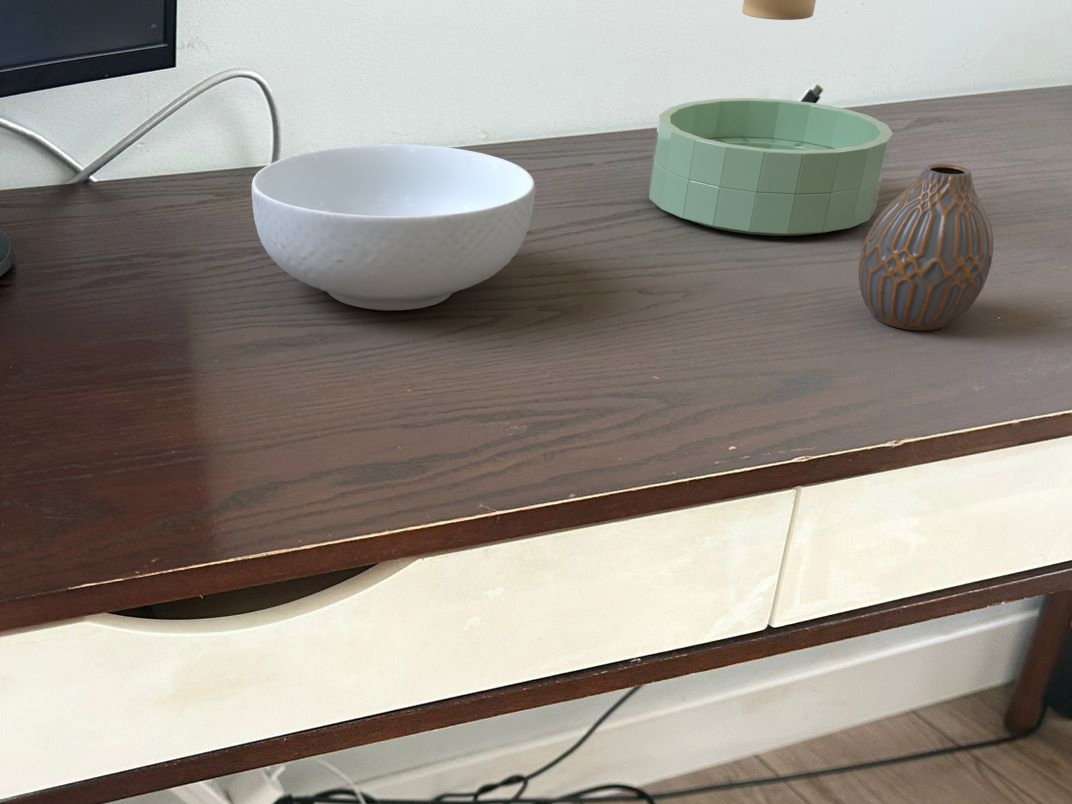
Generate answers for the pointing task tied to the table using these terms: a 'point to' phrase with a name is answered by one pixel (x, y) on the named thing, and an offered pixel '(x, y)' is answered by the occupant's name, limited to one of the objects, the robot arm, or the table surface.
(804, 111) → the green round tub
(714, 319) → the table surface
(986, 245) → the vase
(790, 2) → the stirring stick
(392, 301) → the cereal bowl
